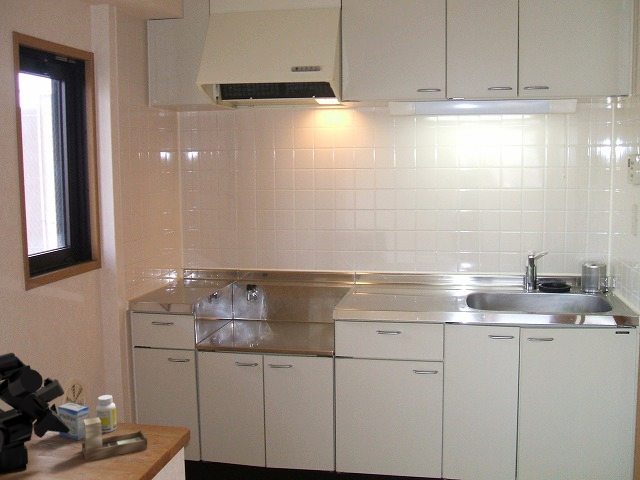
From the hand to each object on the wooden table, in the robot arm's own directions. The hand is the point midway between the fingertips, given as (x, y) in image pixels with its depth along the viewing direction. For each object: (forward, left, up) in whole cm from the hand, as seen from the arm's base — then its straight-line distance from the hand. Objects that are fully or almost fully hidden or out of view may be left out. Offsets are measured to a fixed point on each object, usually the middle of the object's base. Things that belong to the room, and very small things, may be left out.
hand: (68, 431), depth 180 cm
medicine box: (+3, +16, -8) cm, 18 cm away
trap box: (+12, 0, -8) cm, 14 cm away
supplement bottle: (+12, +16, -8) cm, 21 cm away
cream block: (+6, 0, -6) cm, 9 cm away
